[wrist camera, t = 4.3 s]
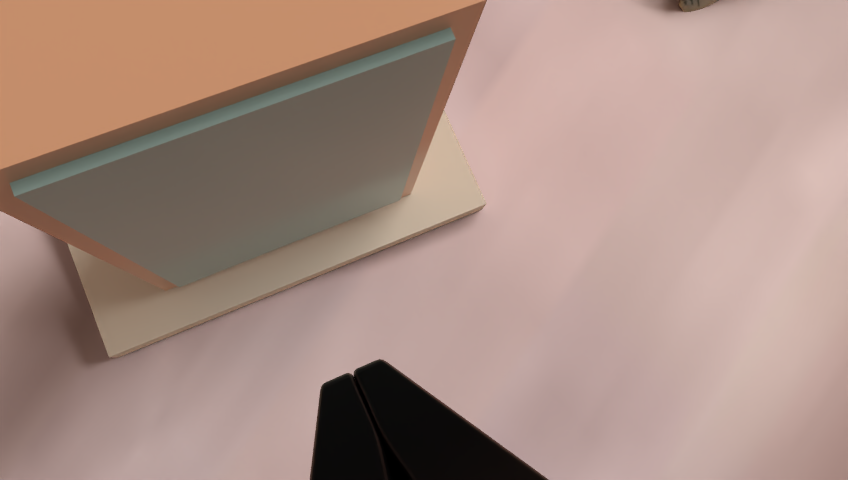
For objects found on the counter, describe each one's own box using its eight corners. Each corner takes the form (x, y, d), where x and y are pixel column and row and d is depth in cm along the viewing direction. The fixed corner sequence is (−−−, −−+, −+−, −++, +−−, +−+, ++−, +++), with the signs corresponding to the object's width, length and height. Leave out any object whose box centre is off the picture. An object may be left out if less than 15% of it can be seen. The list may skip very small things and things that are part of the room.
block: (413, 200, 17) (492, 11, 8) (167, 297, 16) (-44, 200, 7) (374, 112, 17) (411, -161, 8) (131, 201, 16) (-116, -4, 7)
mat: (481, 209, 18) (486, 203, 17) (117, 357, 16) (108, 357, 15) (301, -192, 19) (300, -209, 19) (-49, -93, 18) (-63, -110, 17)
